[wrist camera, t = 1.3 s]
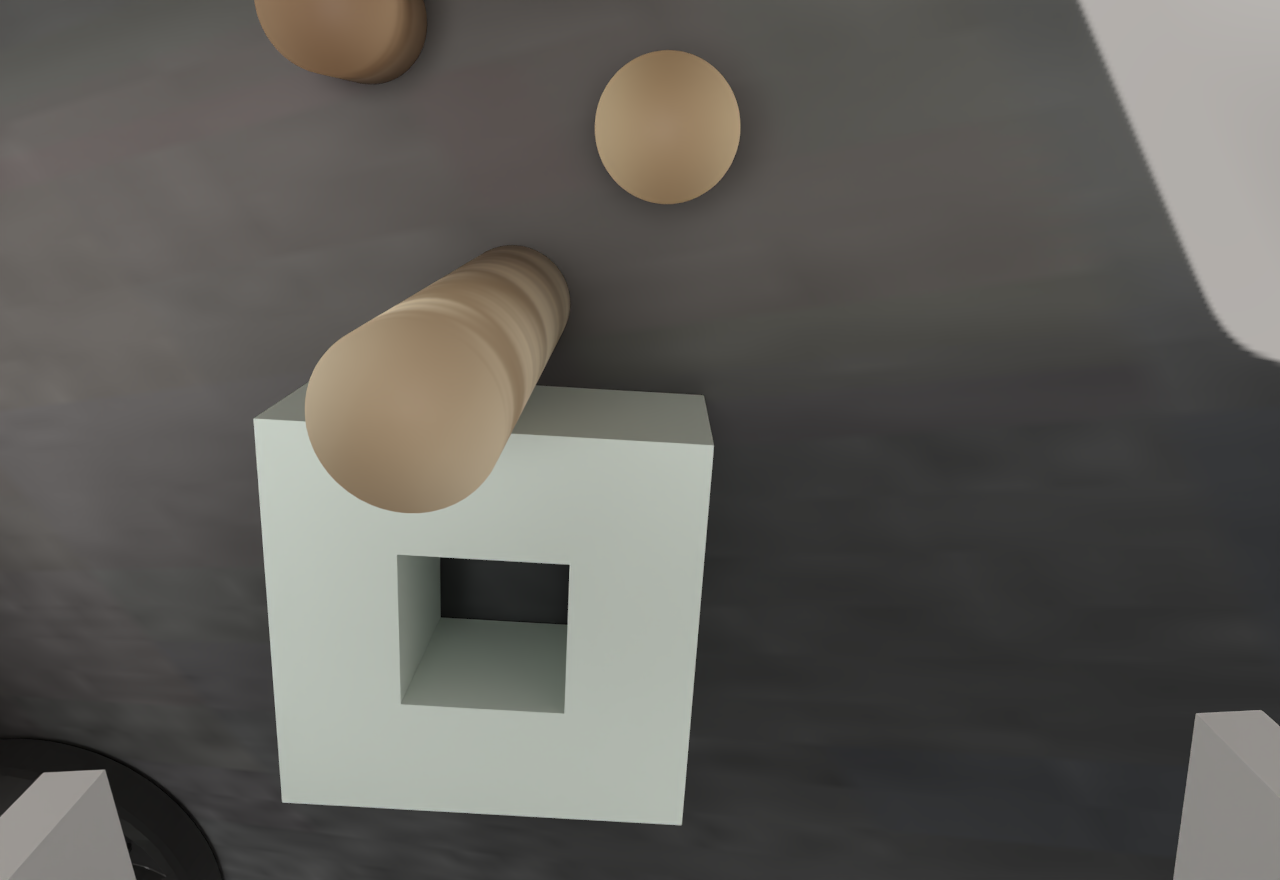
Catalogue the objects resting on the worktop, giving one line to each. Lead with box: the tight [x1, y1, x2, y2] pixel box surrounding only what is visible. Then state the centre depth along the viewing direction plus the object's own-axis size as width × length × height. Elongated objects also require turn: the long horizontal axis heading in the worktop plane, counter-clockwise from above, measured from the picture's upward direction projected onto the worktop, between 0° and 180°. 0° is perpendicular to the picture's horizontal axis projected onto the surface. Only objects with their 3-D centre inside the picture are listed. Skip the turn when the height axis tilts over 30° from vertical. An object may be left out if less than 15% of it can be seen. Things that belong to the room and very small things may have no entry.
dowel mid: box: [595, 50, 740, 204], centre depth 28 cm, size 4×4×6 cm
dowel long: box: [305, 245, 570, 513], centre depth 25 cm, size 4×4×15 cm
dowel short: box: [254, 0, 427, 84], centre depth 28 cm, size 4×4×4 cm
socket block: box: [254, 382, 714, 825], centre depth 33 cm, size 14×14×6 cm
